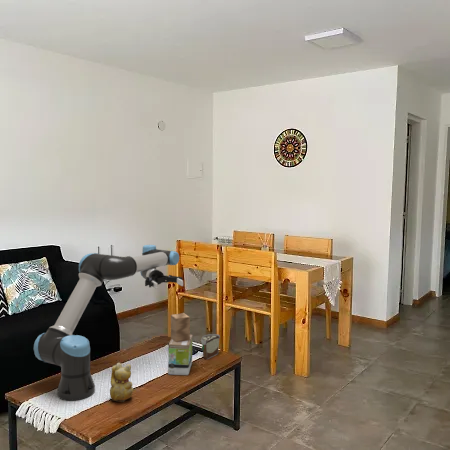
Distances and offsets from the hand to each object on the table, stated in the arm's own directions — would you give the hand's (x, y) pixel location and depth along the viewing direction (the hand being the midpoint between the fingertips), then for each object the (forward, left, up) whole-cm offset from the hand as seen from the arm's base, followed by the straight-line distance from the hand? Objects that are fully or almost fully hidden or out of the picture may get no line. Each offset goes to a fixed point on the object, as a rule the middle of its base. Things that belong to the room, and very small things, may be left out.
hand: (169, 284), depth 232 cm
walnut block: (0, -14, -23) cm, 27 cm away
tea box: (0, -14, -38) cm, 41 cm away
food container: (+19, -5, -38) cm, 43 cm away
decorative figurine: (-34, -32, -38) cm, 60 cm away
